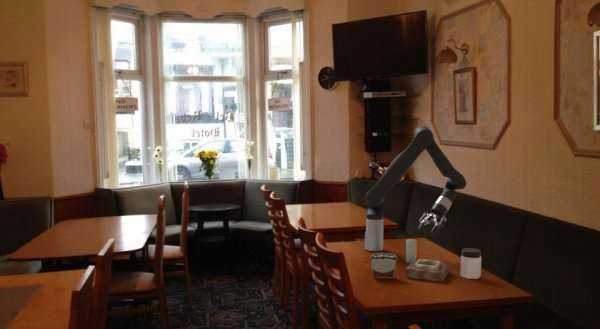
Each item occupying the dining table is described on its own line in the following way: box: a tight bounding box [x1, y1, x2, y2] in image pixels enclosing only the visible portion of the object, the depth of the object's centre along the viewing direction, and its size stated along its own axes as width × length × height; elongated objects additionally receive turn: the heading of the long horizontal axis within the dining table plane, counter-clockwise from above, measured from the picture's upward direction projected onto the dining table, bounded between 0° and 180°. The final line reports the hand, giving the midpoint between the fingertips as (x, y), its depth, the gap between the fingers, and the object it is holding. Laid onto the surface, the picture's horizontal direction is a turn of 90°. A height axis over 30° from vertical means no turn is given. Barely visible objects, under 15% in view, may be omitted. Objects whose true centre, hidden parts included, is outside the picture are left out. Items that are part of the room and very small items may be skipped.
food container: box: [369, 252, 398, 279], centre depth 231 cm, size 12×6×10 cm, turn 84°
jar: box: [460, 247, 482, 280], centre depth 230 cm, size 9×8×12 cm
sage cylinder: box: [405, 238, 418, 264], centre depth 253 cm, size 5×5×11 cm
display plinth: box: [405, 258, 450, 283], centre depth 232 cm, size 16×16×6 cm
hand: (425, 231), depth 259 cm, fingers open, 8 cm apart
